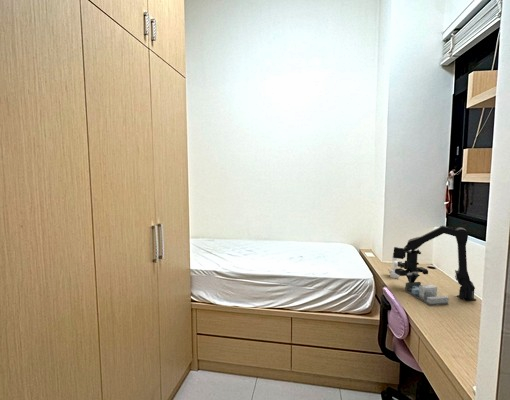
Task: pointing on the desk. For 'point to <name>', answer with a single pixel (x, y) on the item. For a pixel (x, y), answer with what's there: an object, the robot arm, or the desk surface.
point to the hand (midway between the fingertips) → (410, 285)
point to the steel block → (427, 291)
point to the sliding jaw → (413, 287)
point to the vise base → (431, 299)
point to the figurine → (395, 266)
